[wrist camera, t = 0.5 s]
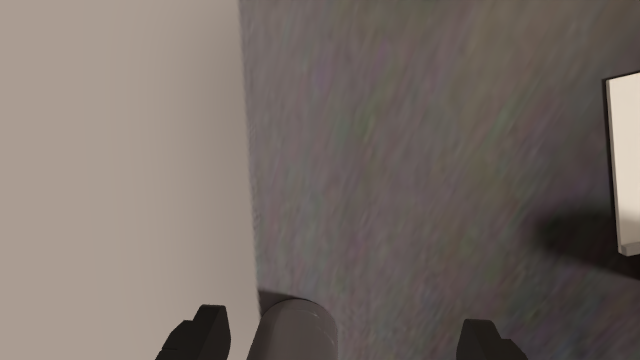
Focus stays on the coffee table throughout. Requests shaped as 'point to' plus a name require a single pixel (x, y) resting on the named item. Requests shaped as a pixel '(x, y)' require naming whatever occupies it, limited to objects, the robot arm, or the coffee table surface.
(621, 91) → the mat
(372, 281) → the coffee table surface
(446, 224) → the coffee table surface
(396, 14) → the coffee table surface
